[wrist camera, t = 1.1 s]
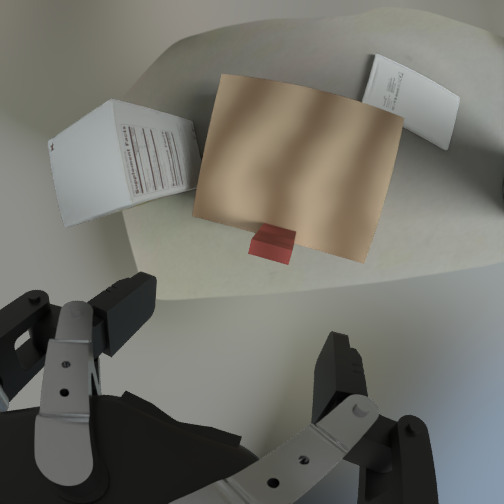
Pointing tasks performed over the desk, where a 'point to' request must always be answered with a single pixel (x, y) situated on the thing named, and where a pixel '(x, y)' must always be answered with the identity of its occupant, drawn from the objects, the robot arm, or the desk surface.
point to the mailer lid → (296, 167)
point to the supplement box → (121, 160)
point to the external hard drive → (412, 100)
